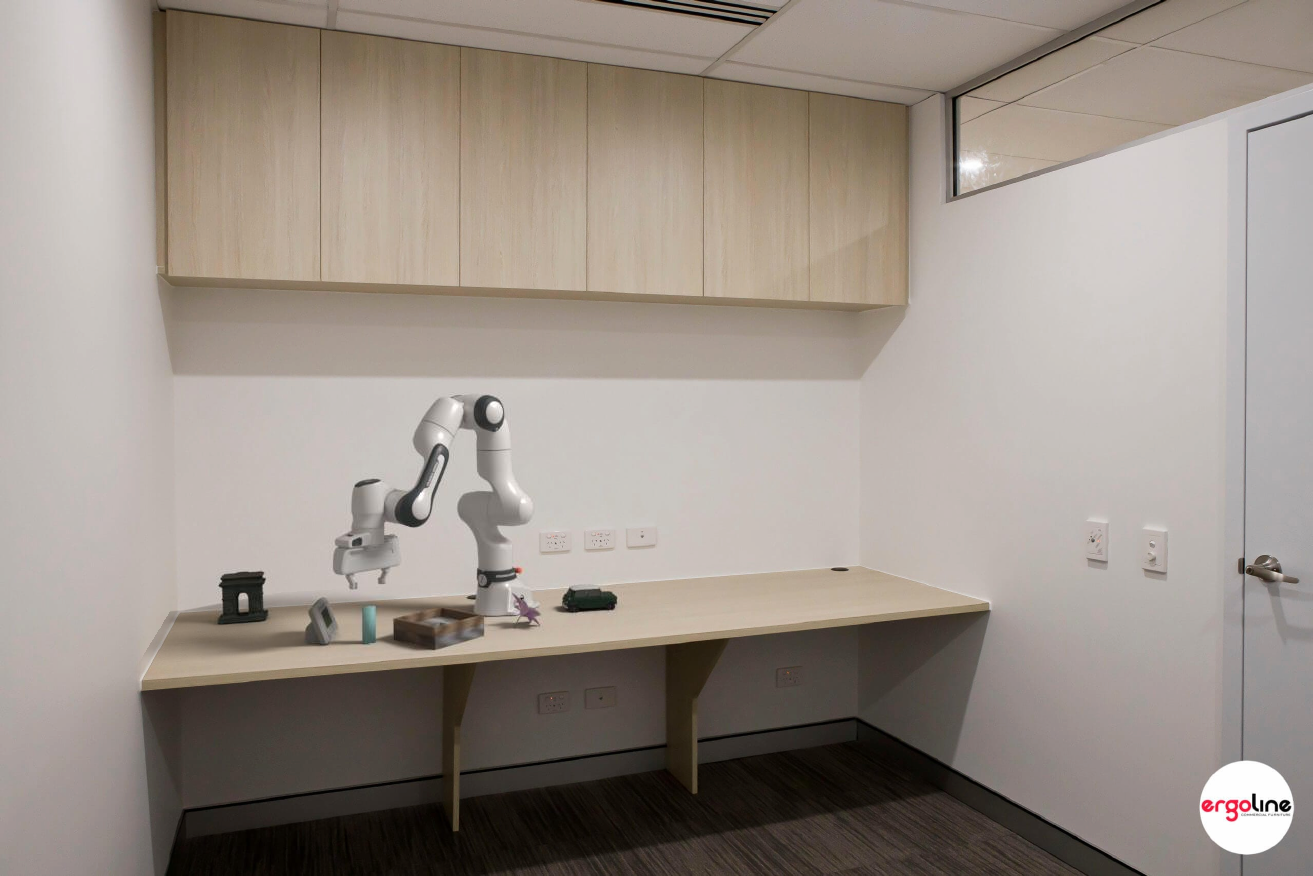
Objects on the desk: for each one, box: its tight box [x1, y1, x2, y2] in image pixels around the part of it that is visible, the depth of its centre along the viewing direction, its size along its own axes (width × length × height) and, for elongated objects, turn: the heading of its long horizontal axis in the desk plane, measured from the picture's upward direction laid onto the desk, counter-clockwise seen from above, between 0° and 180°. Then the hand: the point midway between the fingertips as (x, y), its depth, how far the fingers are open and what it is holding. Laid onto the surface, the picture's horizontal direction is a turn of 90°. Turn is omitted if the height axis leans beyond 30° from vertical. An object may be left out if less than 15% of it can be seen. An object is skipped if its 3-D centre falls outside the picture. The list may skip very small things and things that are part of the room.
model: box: [217, 570, 269, 625], centre depth 269 cm, size 14×9×15 cm, turn 112°
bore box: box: [392, 606, 485, 651], centre depth 250 cm, size 18×18×6 cm
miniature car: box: [561, 583, 619, 614], centre depth 286 cm, size 9×18×8 cm, turn 107°
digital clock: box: [305, 596, 340, 645], centre depth 248 cm, size 16×9×11 cm, turn 179°
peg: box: [361, 605, 377, 645], centre depth 244 cm, size 4×4×10 cm
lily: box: [512, 593, 542, 629], centre depth 263 cm, size 12×12×10 cm
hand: (367, 586), depth 244 cm, fingers open, 8 cm apart
